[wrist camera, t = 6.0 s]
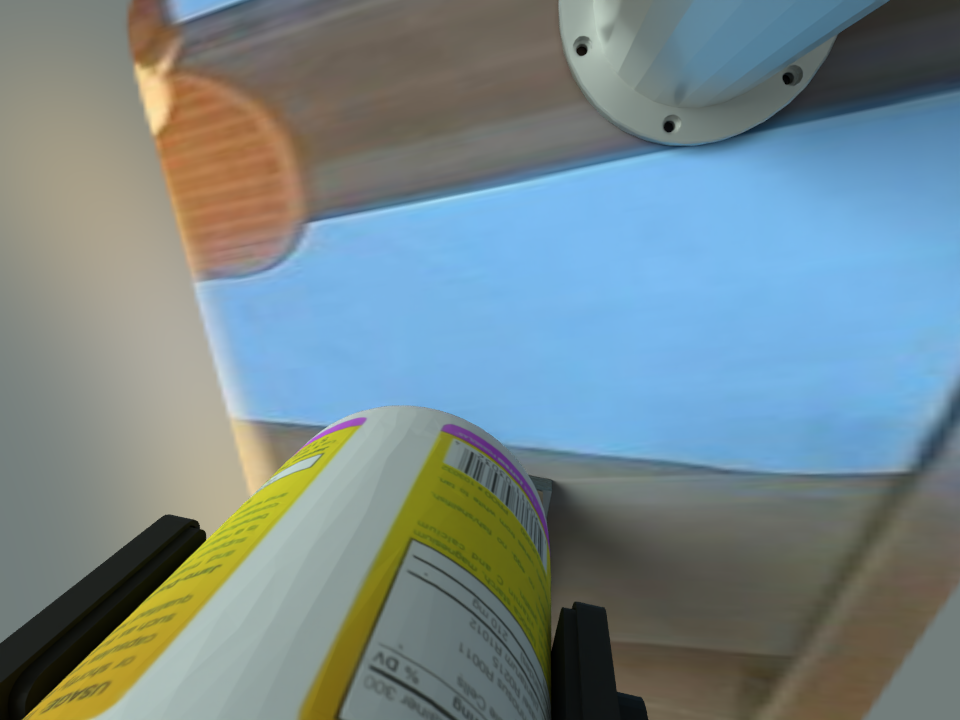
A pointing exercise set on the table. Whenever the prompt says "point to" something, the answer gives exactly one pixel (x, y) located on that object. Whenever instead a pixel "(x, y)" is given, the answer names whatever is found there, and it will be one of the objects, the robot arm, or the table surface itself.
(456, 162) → the table surface
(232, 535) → the supplement bottle
